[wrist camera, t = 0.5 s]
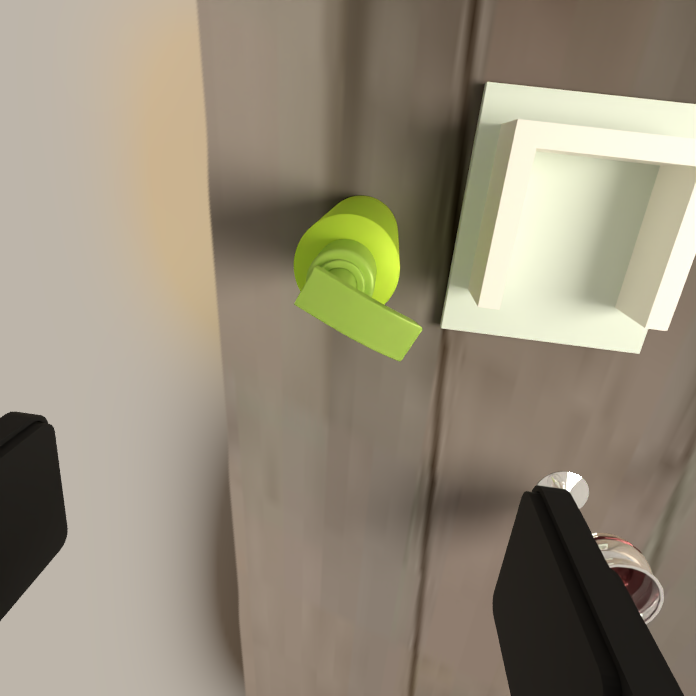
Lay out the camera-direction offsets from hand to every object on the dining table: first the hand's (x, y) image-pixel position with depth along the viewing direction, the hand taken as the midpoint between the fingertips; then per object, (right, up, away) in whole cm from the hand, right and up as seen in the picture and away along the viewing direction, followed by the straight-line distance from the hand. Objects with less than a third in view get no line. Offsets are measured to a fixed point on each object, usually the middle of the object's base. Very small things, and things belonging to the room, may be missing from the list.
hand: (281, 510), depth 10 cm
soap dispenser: (+3, +12, +30) cm, 32 cm away
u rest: (+18, +12, +28) cm, 36 cm away
